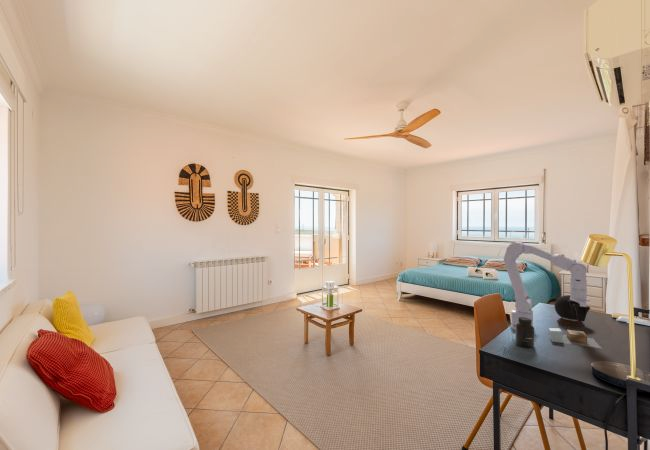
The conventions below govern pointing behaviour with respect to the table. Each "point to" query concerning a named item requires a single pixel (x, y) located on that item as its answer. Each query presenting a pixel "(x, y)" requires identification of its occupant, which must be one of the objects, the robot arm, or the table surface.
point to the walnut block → (577, 336)
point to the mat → (590, 343)
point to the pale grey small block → (556, 335)
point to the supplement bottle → (525, 333)
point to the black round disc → (566, 313)
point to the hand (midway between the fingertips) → (578, 318)
